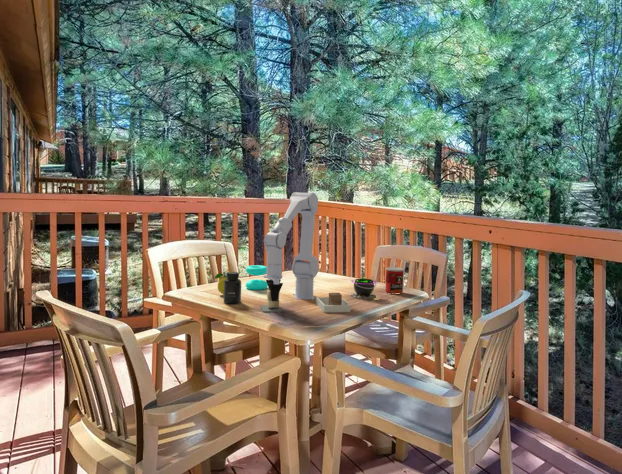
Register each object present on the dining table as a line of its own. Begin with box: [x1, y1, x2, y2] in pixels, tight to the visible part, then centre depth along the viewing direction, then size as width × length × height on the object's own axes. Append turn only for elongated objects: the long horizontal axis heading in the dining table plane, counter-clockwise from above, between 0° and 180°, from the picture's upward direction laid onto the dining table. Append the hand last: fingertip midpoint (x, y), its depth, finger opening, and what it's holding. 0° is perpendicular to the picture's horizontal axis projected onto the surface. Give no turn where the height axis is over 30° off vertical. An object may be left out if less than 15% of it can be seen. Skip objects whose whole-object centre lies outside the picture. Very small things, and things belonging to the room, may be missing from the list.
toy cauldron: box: [350, 271, 378, 301], centre depth 213 cm, size 15×15×11 cm
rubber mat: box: [260, 304, 283, 313], centre depth 190 cm, size 9×9×1 cm
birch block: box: [266, 289, 280, 308], centre depth 190 cm, size 4×4×6 cm
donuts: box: [245, 264, 268, 291], centre depth 227 cm, size 10×10×10 cm
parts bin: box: [315, 296, 352, 313], centre depth 193 cm, size 14×10×3 cm
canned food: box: [384, 266, 404, 294], centre depth 224 cm, size 8×8×11 cm
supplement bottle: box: [223, 271, 242, 305], centre depth 199 cm, size 7×7×12 cm
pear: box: [214, 271, 227, 296], centre depth 212 cm, size 7×6×10 cm
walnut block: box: [328, 292, 343, 305], centre depth 189 cm, size 4×4×6 cm
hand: (273, 299), depth 190 cm, fingers closed on birch block, 4 cm apart
